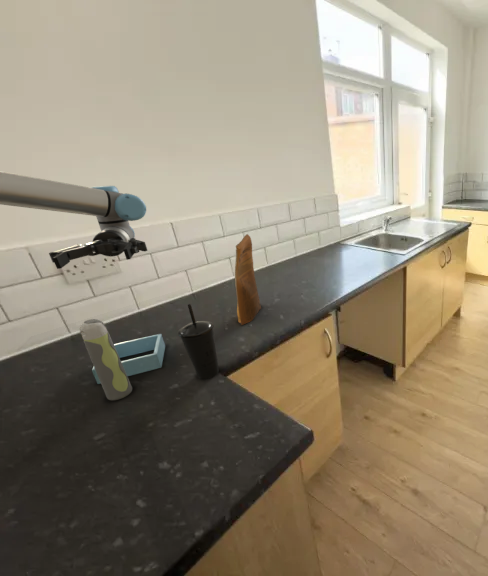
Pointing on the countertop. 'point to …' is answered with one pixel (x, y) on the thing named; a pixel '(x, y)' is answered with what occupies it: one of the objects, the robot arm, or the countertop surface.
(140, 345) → the blue rectangular frame
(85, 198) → the robot arm
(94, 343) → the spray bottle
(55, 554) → the countertop surface
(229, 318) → the countertop surface
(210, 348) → the drinking cup
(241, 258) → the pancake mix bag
